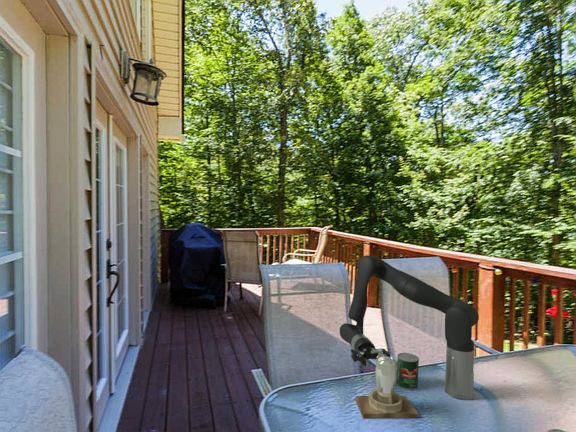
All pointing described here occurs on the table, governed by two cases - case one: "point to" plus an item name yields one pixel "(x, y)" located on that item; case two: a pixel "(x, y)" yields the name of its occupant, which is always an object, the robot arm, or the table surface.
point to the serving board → (377, 414)
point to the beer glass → (385, 379)
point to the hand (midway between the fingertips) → (376, 363)
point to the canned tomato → (407, 371)
